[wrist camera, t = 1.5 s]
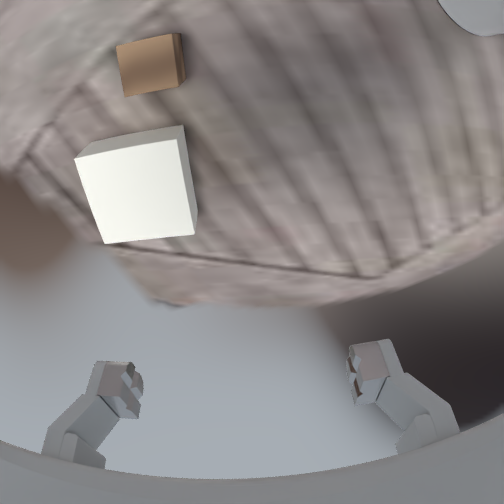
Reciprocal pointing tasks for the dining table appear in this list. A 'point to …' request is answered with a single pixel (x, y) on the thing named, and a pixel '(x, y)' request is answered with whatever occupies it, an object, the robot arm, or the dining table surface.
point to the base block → (140, 185)
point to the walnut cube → (151, 64)
